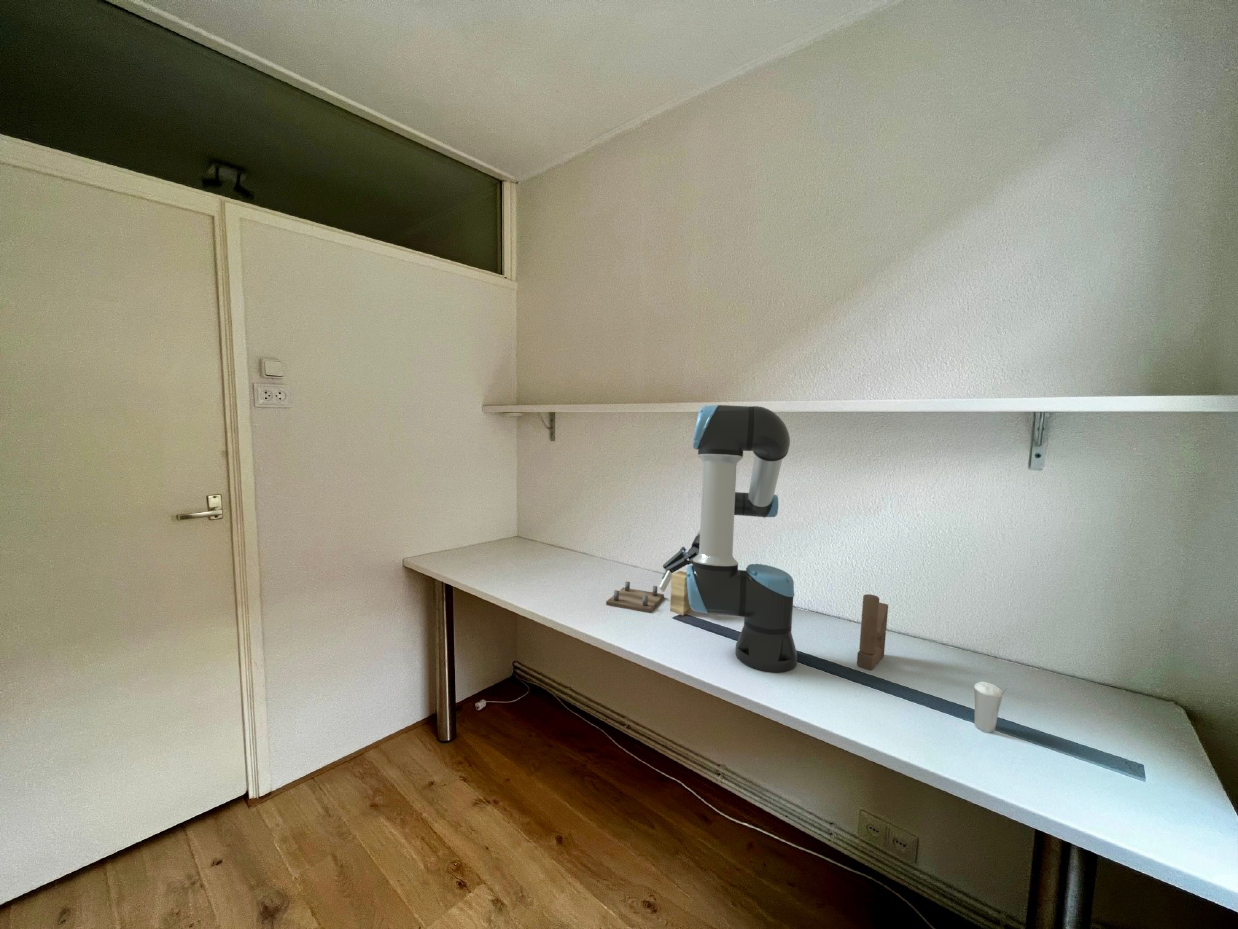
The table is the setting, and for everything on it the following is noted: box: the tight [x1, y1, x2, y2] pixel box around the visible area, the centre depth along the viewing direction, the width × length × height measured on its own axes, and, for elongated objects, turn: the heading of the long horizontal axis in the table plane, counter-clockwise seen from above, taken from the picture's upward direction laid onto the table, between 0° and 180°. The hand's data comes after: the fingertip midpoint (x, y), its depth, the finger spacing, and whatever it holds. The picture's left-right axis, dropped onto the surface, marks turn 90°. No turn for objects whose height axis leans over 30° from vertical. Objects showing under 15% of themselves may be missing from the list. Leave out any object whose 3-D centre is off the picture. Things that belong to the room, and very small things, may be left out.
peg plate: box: [605, 581, 665, 614], centre depth 163 cm, size 15×15×4 cm
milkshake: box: [973, 681, 1008, 734], centre depth 98 cm, size 5×5×10 cm
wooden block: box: [856, 593, 889, 671], centre depth 125 cm, size 4×11×18 cm, turn 137°
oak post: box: [669, 570, 693, 616], centre depth 155 cm, size 5×5×12 cm
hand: (678, 595), depth 154 cm, fingers open, 13 cm apart
